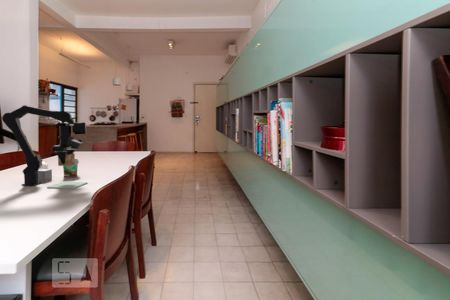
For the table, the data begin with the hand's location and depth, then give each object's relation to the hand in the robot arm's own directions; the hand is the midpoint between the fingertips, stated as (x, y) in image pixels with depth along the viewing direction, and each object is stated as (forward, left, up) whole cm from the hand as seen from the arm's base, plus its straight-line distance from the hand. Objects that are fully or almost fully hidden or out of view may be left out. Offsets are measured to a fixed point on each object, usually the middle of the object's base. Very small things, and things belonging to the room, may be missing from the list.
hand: (66, 163), depth 172 cm
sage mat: (-7, -4, -11) cm, 14 cm away
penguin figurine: (+16, +24, -11) cm, 31 cm away
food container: (+20, +8, -11) cm, 25 cm away
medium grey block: (+5, +17, -11) cm, 21 cm away
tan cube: (0, 0, -1) cm, 1 cm away
